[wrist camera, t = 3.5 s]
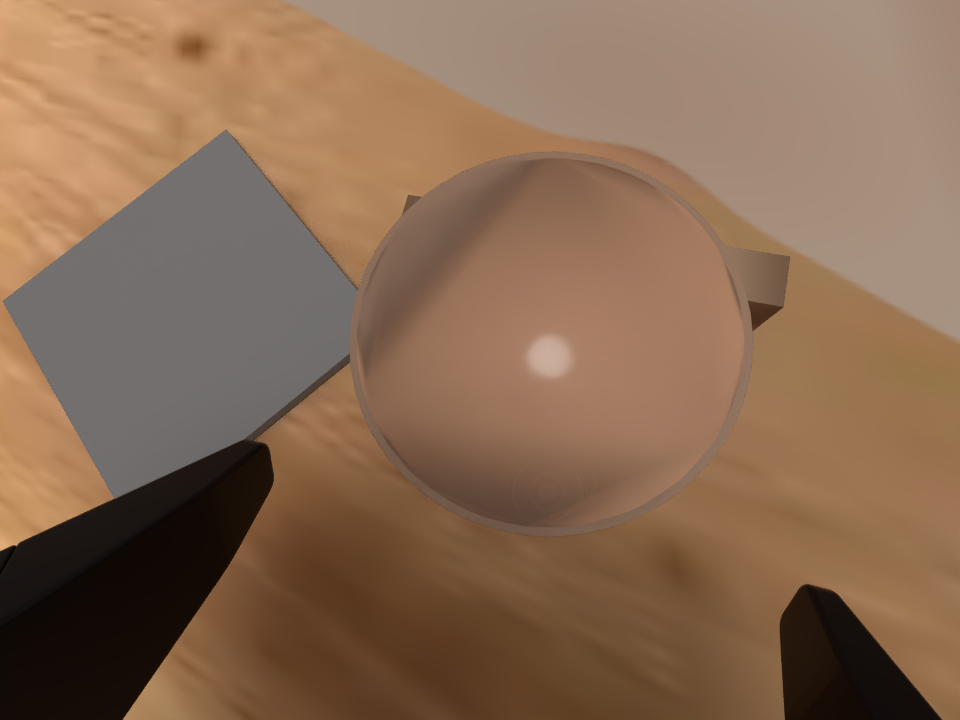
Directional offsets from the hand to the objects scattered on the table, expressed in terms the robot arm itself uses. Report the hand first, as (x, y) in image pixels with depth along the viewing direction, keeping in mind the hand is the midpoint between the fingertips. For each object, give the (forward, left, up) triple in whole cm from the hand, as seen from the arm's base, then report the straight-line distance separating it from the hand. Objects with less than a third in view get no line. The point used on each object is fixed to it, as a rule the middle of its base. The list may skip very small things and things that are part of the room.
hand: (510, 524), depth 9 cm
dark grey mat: (+15, +6, -10) cm, 19 cm away
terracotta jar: (+2, -2, -10) cm, 11 cm away
